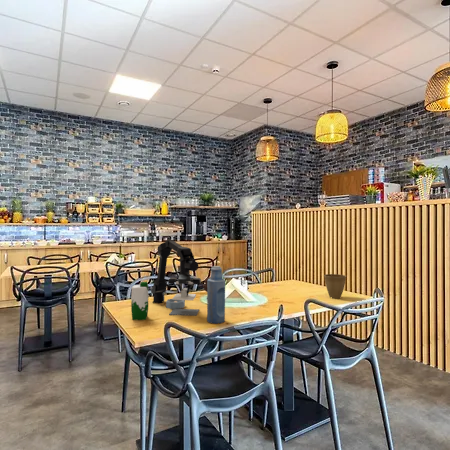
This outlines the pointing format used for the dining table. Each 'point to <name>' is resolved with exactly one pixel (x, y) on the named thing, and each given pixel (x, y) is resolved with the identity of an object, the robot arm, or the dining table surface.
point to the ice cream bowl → (205, 284)
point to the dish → (175, 304)
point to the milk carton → (139, 301)
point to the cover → (184, 295)
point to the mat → (185, 312)
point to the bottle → (216, 296)
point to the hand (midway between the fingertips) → (184, 295)
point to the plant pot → (335, 284)
